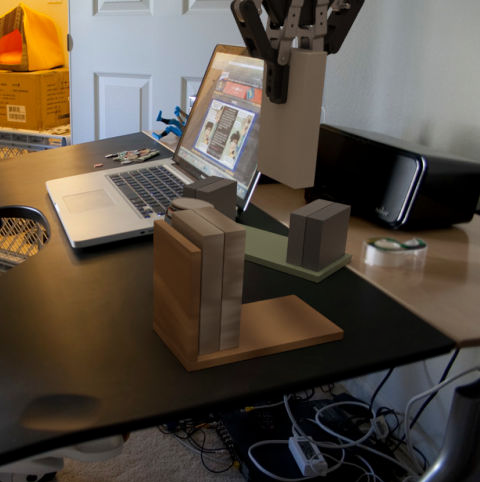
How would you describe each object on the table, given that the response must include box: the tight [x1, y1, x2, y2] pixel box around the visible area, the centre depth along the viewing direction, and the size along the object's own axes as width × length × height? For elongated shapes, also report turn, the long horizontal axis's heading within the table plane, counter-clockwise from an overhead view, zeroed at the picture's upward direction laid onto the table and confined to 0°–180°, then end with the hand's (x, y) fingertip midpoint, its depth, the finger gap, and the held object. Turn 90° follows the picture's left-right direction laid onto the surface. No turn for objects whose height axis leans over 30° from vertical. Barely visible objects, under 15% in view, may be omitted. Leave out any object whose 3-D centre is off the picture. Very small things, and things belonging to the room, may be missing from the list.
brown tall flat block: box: [256, 46, 328, 190], centre depth 64 cm, size 2×7×13 cm, turn 16°
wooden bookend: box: [152, 206, 345, 373], centre depth 67 cm, size 18×9×14 cm, turn 107°
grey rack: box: [182, 175, 353, 284], centre depth 89 cm, size 23×9×8 cm, turn 43°
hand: (289, 100), depth 63 cm, fingers closed on brown tall flat block, 2 cm apart
